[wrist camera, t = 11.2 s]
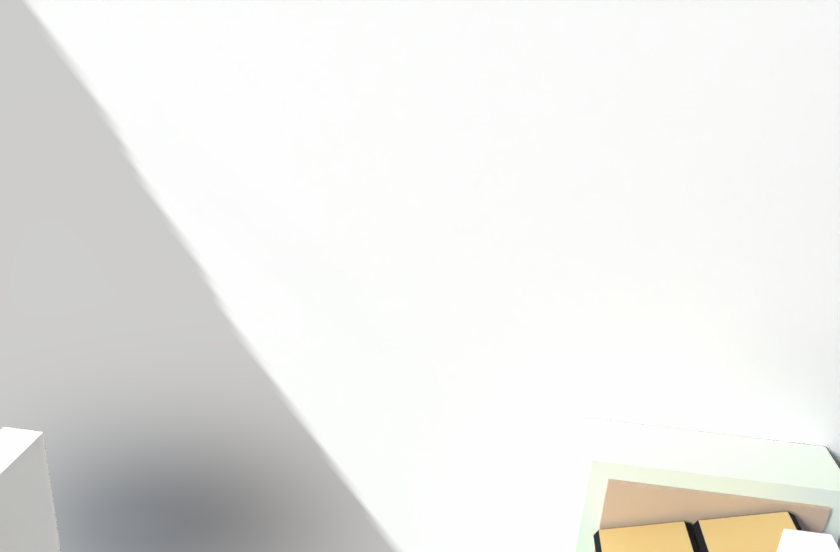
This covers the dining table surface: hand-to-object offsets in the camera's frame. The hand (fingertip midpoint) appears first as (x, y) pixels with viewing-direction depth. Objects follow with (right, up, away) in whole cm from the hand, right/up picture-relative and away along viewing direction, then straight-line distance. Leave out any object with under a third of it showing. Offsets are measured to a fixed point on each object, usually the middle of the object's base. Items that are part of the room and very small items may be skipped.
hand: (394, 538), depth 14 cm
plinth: (+16, -10, +31) cm, 36 cm away
